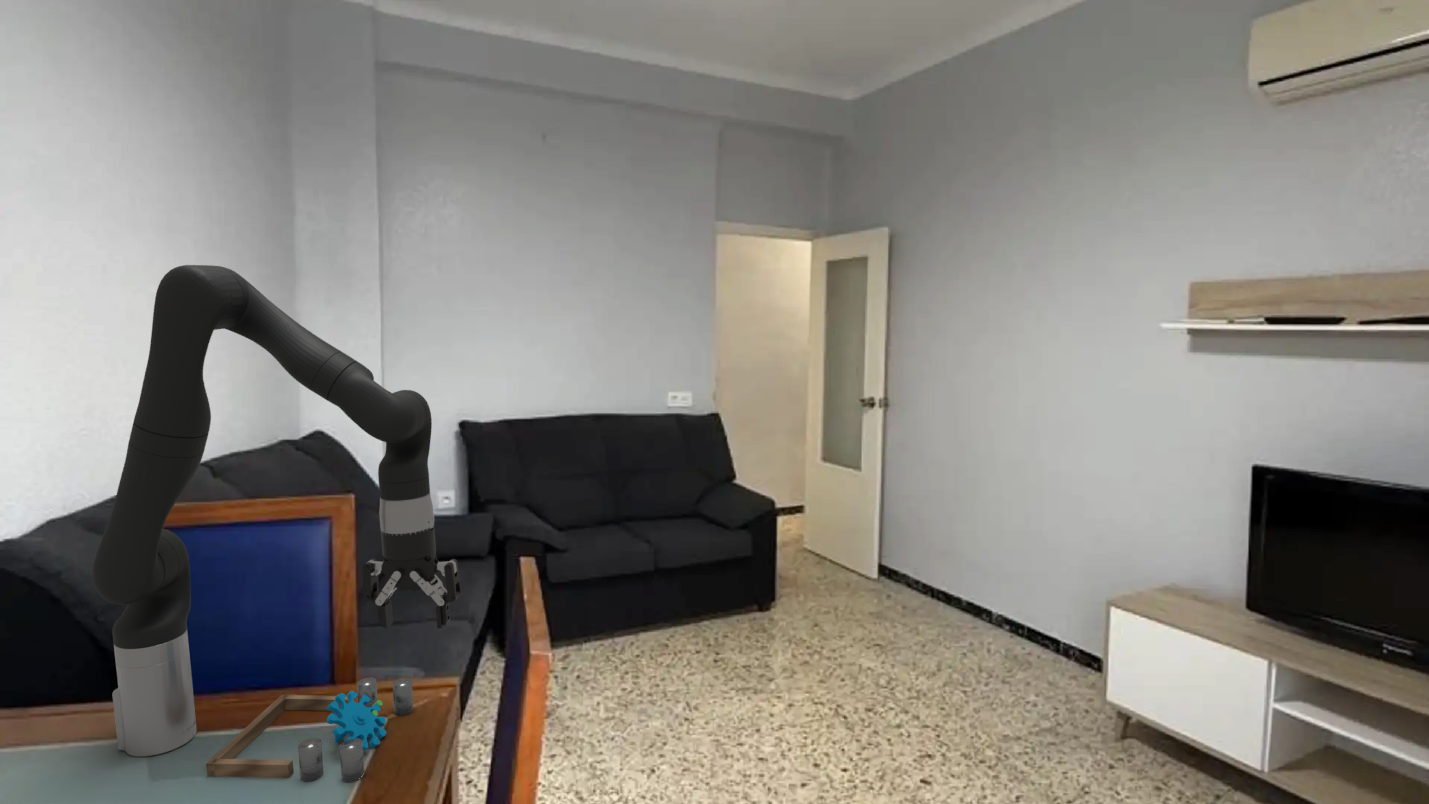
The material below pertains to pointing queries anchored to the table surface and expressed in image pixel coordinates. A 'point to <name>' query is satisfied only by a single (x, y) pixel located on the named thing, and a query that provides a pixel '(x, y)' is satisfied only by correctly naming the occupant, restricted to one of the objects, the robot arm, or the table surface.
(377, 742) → the gear
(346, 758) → the spacers
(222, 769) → the frame
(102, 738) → the table surface
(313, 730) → the table surface
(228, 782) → the table surface
